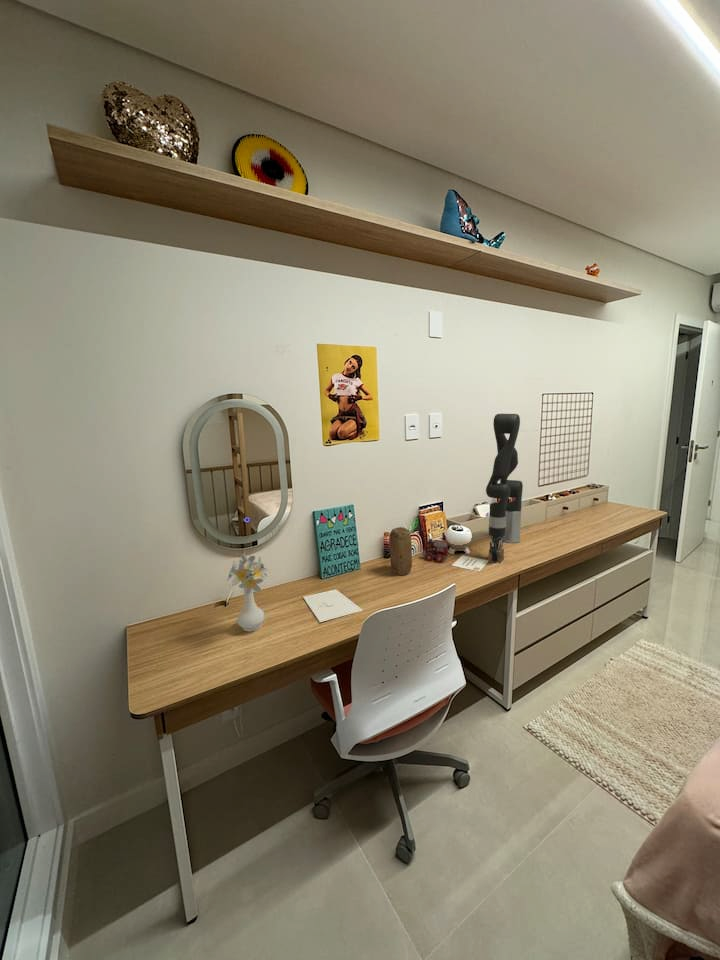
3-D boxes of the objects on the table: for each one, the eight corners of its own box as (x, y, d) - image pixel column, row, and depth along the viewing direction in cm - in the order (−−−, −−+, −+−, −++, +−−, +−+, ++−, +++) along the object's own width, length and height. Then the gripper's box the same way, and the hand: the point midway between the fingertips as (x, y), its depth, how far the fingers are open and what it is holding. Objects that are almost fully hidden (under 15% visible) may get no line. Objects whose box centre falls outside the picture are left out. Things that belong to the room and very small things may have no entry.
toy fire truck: (425, 555, 187) (425, 535, 185) (450, 558, 181) (450, 538, 179) (421, 560, 180) (421, 539, 179) (446, 564, 175) (446, 543, 173)
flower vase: (244, 647, 118) (236, 574, 113) (227, 622, 132) (219, 556, 128) (282, 632, 125) (276, 562, 121) (261, 610, 140) (255, 547, 135)
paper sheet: (301, 595, 151) (301, 593, 150) (367, 584, 160) (367, 581, 160) (315, 625, 129) (315, 622, 129) (390, 609, 139) (390, 607, 139)
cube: (492, 557, 181) (492, 546, 180) (503, 559, 177) (504, 548, 176) (488, 560, 176) (488, 549, 175) (500, 563, 173) (500, 552, 172)
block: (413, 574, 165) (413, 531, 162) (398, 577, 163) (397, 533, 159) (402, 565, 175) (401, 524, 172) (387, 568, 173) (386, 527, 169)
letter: (462, 555, 183) (462, 555, 183) (488, 561, 176) (488, 560, 176) (451, 565, 172) (451, 565, 172) (479, 571, 165) (479, 571, 165)
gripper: (501, 530, 166) (500, 566, 169) (509, 522, 177) (508, 555, 180) (484, 528, 170) (483, 562, 173) (493, 520, 182) (492, 552, 185)
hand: (496, 558), depth 177 cm, fingers closed on cube, 5 cm apart
